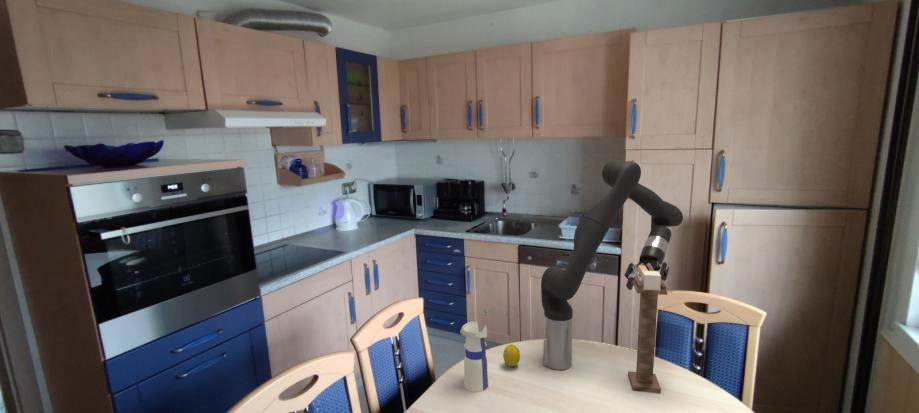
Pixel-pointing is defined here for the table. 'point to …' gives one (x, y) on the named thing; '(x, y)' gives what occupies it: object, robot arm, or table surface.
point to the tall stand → (646, 340)
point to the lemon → (511, 355)
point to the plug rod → (649, 278)
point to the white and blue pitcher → (475, 357)
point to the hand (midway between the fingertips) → (640, 289)
